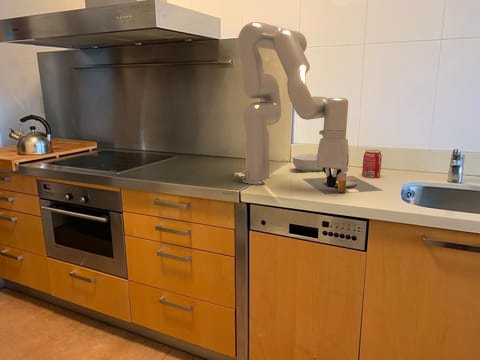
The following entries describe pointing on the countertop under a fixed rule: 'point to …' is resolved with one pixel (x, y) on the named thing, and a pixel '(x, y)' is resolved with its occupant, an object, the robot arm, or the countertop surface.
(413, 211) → the countertop surface
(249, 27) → the robot arm
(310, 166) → the cereal bowl
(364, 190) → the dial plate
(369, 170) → the soda can
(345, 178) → the dial
